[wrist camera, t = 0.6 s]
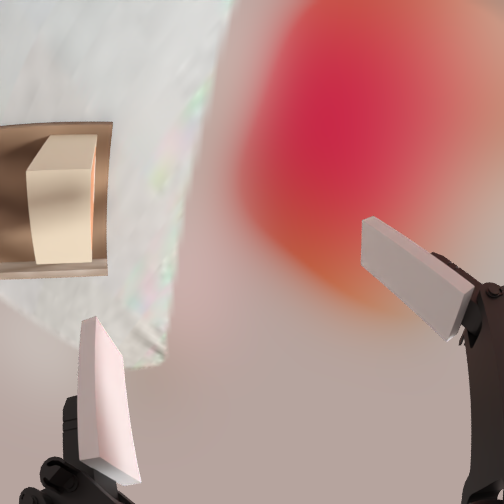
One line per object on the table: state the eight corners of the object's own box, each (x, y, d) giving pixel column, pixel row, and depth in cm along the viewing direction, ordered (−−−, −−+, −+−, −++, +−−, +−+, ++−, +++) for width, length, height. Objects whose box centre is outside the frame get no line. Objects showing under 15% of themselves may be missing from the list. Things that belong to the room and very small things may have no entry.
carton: (50, 135, 24) (25, 171, 17) (97, 134, 26) (92, 169, 19) (50, 207, 28) (36, 264, 21) (94, 206, 30) (92, 262, 23)
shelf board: (-24, 128, 20) (-36, 138, 17) (112, 121, 27) (112, 129, 25) (-6, 263, 29) (-12, 281, 26) (106, 259, 36) (107, 276, 34)
